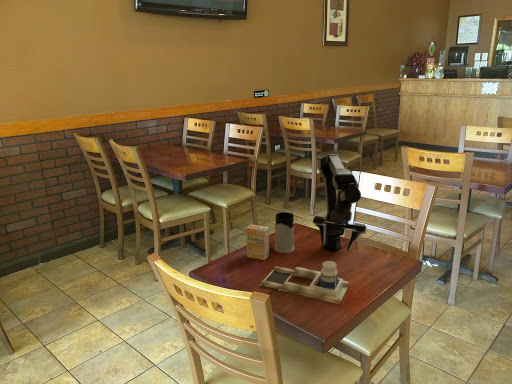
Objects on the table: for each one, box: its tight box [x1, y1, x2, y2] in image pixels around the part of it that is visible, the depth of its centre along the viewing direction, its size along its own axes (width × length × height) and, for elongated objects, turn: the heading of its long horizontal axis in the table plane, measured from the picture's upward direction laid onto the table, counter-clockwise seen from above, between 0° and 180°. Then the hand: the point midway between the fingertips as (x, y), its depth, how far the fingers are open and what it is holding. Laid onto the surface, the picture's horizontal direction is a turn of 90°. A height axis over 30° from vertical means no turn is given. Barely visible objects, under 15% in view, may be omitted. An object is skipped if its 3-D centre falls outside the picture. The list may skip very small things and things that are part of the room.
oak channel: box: [260, 265, 350, 305], centre depth 139 cm, size 28×13×3 cm, turn 64°
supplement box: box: [245, 223, 270, 261], centre depth 159 cm, size 8×5×13 cm, turn 68°
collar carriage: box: [308, 274, 344, 297], centre depth 136 cm, size 9×9×2 cm
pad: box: [337, 286, 349, 301], centre depth 135 cm, size 8×10×1 cm
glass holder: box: [273, 211, 295, 254], centre depth 169 cm, size 9×14×15 cm, turn 156°
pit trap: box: [258, 269, 293, 292], centre depth 144 cm, size 8×14×1 cm, turn 154°
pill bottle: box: [319, 260, 339, 290], centre depth 135 cm, size 6×6×10 cm
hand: (335, 248), depth 142 cm, fingers open, 9 cm apart
